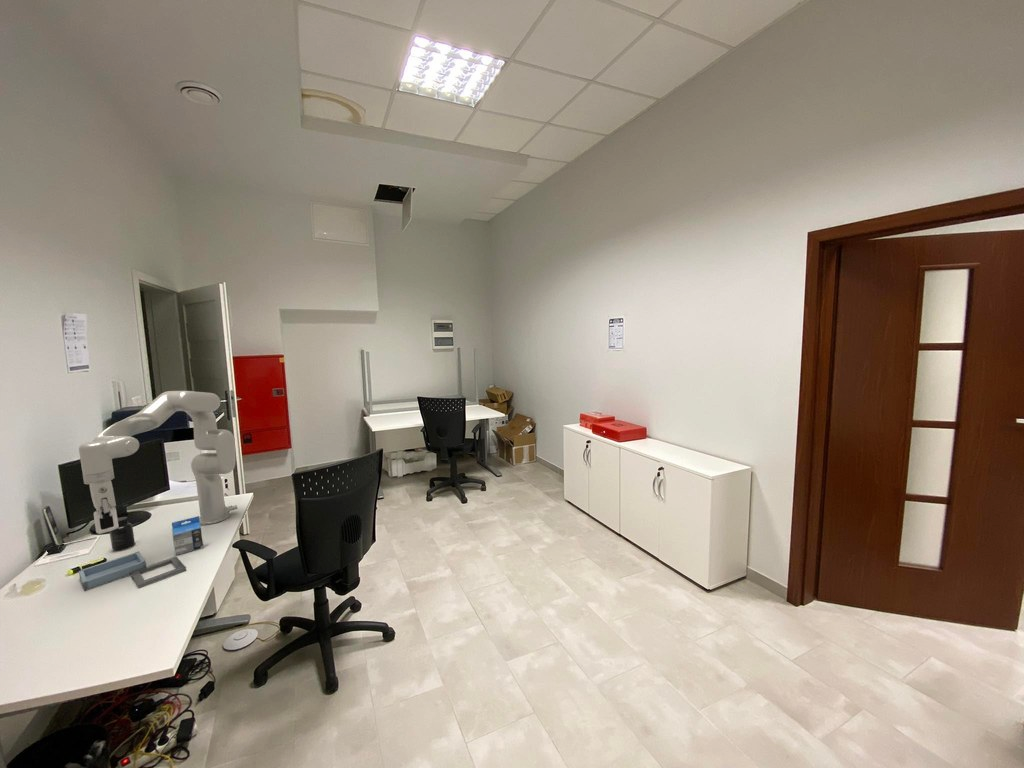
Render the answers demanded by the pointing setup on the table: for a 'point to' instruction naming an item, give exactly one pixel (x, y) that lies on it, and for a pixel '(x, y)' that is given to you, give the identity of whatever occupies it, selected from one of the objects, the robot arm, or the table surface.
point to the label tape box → (187, 535)
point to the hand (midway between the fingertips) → (106, 525)
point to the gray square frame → (141, 582)
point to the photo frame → (67, 555)
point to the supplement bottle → (122, 535)
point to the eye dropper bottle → (97, 521)
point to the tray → (111, 570)
